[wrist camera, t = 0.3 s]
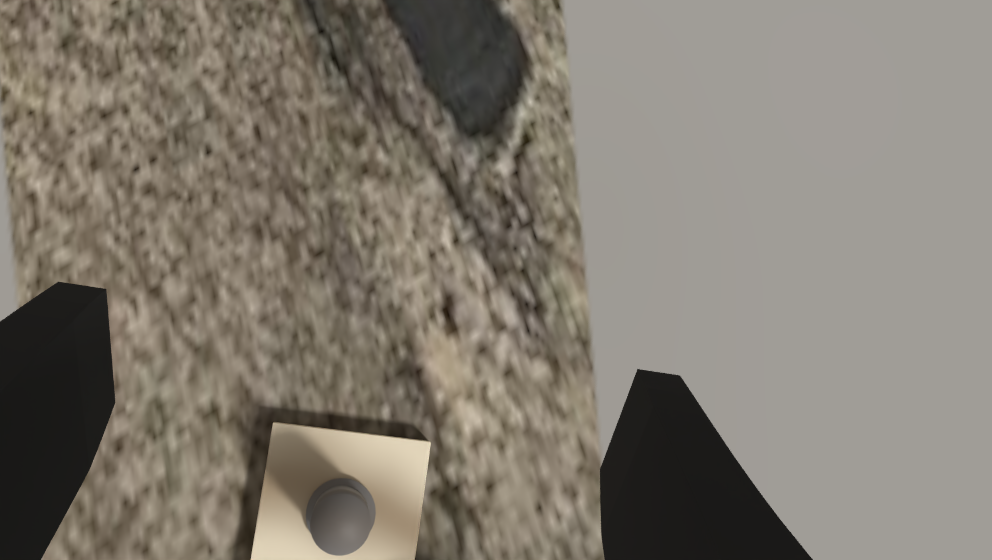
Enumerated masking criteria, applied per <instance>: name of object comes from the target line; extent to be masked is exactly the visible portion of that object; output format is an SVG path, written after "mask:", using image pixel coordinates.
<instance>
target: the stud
mask: <svg viewBox="0 0 992 560" xmlns="http://www.w3.org/2000/svg"><path fill="white" fill-rule="evenodd" d="M430 445H431V442H430V441H426V440H418V439H409V438H401V437H393V436H385V435H377V434H369V433H361V432H353V431H344V430H336V429H328V428H320V427H312V426H304V425H296V424H288V423H279V422H274V423H273V426H272V432H271V438H270V445H269V451H268V457H267V463H266V469H265V475H264V481H263V488H262V494H261V500H260V506H259V512H258V518H257V524H256V531H255V537H254V543H253V549H252V555H251V560H415V554H416V547H417V540H418V533H419V525H420V518H421V511H422V503H423V496H424V489H425V481H426V474H427V467H428V460H429V452H430Z"/></svg>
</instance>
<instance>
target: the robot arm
mask: <svg viewBox="0 0 992 560" xmlns="http://www.w3.org/2000/svg"><path fill="white" fill-rule="evenodd" d="M114 405H115V393H114V380H113V368H112V355H111V343H110V330H109V318H108V305H107V293H106V289H103V288H96V287H89V286H83V285H76V284H70V283H63V282H57V283H56V284H54V285H53V286H51V287H50V288H48V289H47V290H45V291H44V292H42V293H41V294H39V295H38V296H36V297H35V298H33V299H32V300H31V301H29V302H28V303H26V304H25V305H23V306H22V307H20V308H19V309H17V310H16V311H15V312H13V313H12V314H10V315H9V316H7V317H6V318H5V319H3V320H2V321H0V560H41V558H42V556H43V554H44V553H45V551H46V549H47V547H48V545H49V544H50V542H51V540H52V538H53V536H54V535H55V533H56V531H57V529H58V527H59V525H60V524H61V522H62V520H63V518H64V516H65V514H66V513H67V511H68V509H69V507H70V505H71V503H72V501H73V500H74V498H75V496H76V494H77V492H78V490H79V488H80V487H81V485H82V483H83V481H84V479H85V477H86V475H87V473H88V471H89V470H90V467H91V465H92V462H93V460H94V457H95V455H96V452H97V450H98V447H99V445H100V442H101V440H102V437H103V434H104V431H105V429H106V426H107V423H108V421H109V418H110V415H111V413H112V410H113V407H114ZM600 503H601V534H602V543H603V550H604V557H605V560H813V559H812V558H811V557H810V556H809V555H808V554H807V552H806V551H805V550H804V549H803V547H802V546H801V545H800V544H799V542H798V541H797V540H796V539H795V537H794V536H793V535H792V534H791V532H790V531H789V530H788V529H787V528H786V526H785V525H784V524H783V522H782V521H781V520H780V519H779V517H778V516H777V515H776V513H775V512H774V511H773V509H772V508H771V507H770V506H769V504H768V503H767V502H766V500H765V499H764V498H763V496H762V495H761V493H760V492H759V491H758V490H757V488H756V487H755V485H754V484H753V483H752V481H751V480H750V478H749V477H748V476H747V474H746V473H745V471H744V470H743V469H742V467H741V466H740V464H739V463H738V461H737V460H736V459H735V457H734V456H733V454H732V453H731V451H730V450H729V448H728V447H727V446H726V444H725V442H724V441H723V439H722V438H721V437H720V435H719V433H718V432H717V431H716V429H715V428H714V426H713V425H712V423H711V422H710V420H709V419H708V417H707V416H706V414H705V413H704V411H703V409H702V408H701V406H700V405H699V403H698V402H697V400H696V399H695V397H694V396H693V395H692V393H691V391H690V390H689V388H688V387H687V385H686V384H685V383H684V381H683V380H682V378H681V377H680V376H679V375H672V374H666V373H660V372H652V371H646V370H640V369H637V372H636V375H635V377H634V380H633V383H632V386H631V388H630V391H629V394H628V396H627V399H626V402H625V404H624V407H623V410H622V412H621V415H620V418H619V420H618V423H617V426H616V428H615V431H614V434H613V436H612V439H611V442H610V444H609V447H608V450H607V452H606V455H605V458H604V460H603V463H602V466H601V468H600Z"/></svg>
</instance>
